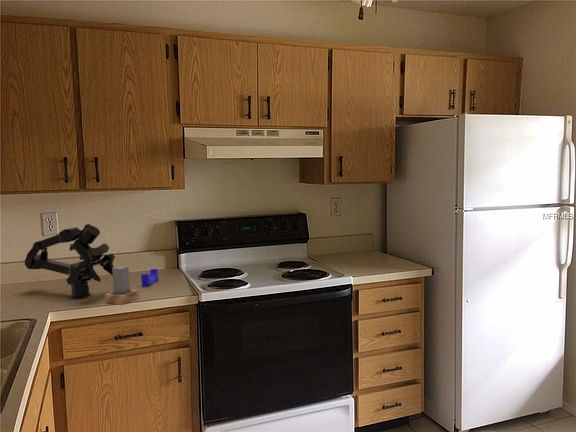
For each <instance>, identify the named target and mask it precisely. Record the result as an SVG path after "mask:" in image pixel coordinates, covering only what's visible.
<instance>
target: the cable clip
mask: <svg viewBox="0 0 576 432" xmlns="http://www.w3.org/2000/svg"><path fill="white" fill-rule="evenodd" d="M158 271H159V270H158V268H150V271H149V272H150V273H141V275H140V276H141V288H149V287H151V286H152V285H154V284H155V283H157V282H158V281H159V272H158ZM150 285H151V286H150Z"/></svg>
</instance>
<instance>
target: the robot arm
mask: <svg viewBox="0 0 576 432" xmlns="http://www.w3.org/2000/svg"><path fill="white" fill-rule="evenodd" d="M100 234H101V231H100V230H99V228H98V227H96V226H94V225H91V224H90V223H88V224H85V225H84V227H83V228H82V229H80V228H78V227H76V226H75V227H70V228H69V227H68V228H64V229H62V230H61V231H59V232H58V233H57V234H56V235H53V236H51V237H47V238H44V239H42V240H37V241H35V242H34V243H33V244H32V247H31V249H30V250H29V251H28V252H27V254H26V256H25V259H24V266H26V267H25V268H27V269H28V270H47V271H50V272H53V273H55V272H56V273H59V274H62V275H66V276H68V277H67V279H66V282H67V285H70V286H71V295H69V297H68V298H69V299H70V298H71V299H83V298H86V297H89V296H91V295H92V293H91V292H90V286H89V281H92V280H94V281H96V282H101V278H100V276H99V275H98V273H97V271H96V270H95V269H94V267H96V266H99V265H100V267H102V269H103V270H105V271H106V272H107V273H108V274H110V275H111V276H112V277H113V272H112V268H115V267H114V265H113V263H114V260H115V258H116V256H115V255H114V254H113V253H108V252H109V250H110V247H109V245H108V244H107V243H102V244H101V245H100V246H96V247H91V245H92V244H93V243H94V241H96V239H97V238H98V237H99V235H100ZM71 242H73V243H71ZM66 243H70V244H69V252H71V251H75V253H77V254H78V256H79V260H80V261H78V262H75V263H72V264H71V263H67V262H62V261H57V260H53V259H50V258H49V252H48V249H49V248H51V247H54V246H57V245H59V244H66ZM40 251H41V252H40ZM39 252H40V253H39ZM105 253H107V254H105ZM103 255H104V256H103Z"/></svg>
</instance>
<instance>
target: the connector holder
mask: <svg viewBox="0 0 576 432" xmlns="http://www.w3.org/2000/svg"><path fill="white" fill-rule="evenodd" d="M138 299H140V294H139V290H138V289H132V288H130V292H129V293H127V294H124V295H119V294H114V290H112V291H110V292H108V293H105V294H104V303H105V304H115V305H116V304H117V305H127V304H130V303H131V302H134V301H136V300H138Z"/></svg>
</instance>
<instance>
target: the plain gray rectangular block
mask: <svg viewBox="0 0 576 432" xmlns="http://www.w3.org/2000/svg"><path fill="white" fill-rule="evenodd" d="M112 272H113V276H112V285H113V287H112V288H113V291H114V294H119V295H124V294H127V293H129V292H130V289H131V287H130V285H131V284H130V274H129V273H130V269H129V266H126V265H125V266H123V265H122V266H121V265H118V266H115V267H114V268H112Z"/></svg>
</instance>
